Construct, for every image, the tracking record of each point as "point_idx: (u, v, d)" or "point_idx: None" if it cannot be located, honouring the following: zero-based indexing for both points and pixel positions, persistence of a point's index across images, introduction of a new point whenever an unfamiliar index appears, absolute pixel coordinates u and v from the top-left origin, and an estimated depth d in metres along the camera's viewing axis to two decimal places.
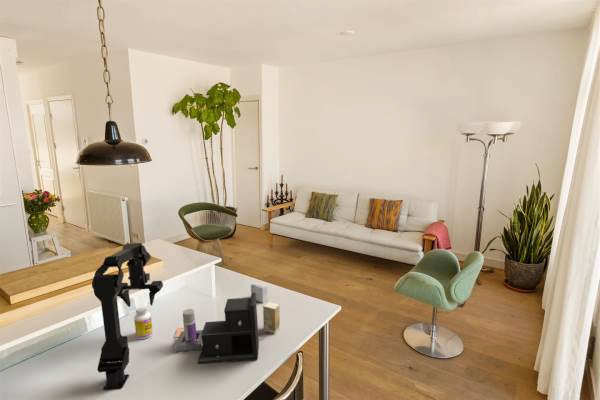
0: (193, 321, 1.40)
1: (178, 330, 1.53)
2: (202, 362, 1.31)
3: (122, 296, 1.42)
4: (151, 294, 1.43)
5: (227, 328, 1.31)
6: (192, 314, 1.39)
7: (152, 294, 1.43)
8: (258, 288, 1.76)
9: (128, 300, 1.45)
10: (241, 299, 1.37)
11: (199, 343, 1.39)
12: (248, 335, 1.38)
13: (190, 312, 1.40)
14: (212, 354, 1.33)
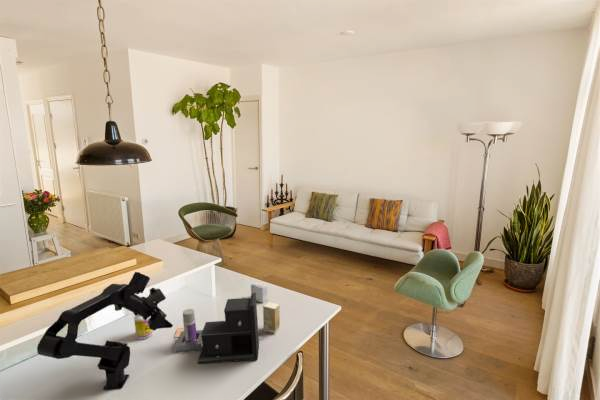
0: (193, 321, 1.40)
1: (178, 330, 1.53)
2: (202, 362, 1.31)
3: None
4: None
5: (227, 328, 1.31)
6: (192, 314, 1.39)
7: None
8: (258, 288, 1.76)
9: None
10: (241, 299, 1.37)
11: (199, 343, 1.39)
12: (248, 335, 1.38)
13: (190, 312, 1.40)
14: (212, 354, 1.33)
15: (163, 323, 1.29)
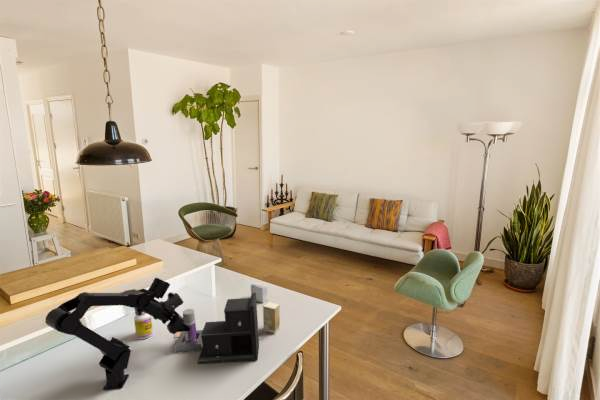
0: (193, 321, 1.40)
1: None
2: (202, 362, 1.31)
3: None
4: None
5: (227, 328, 1.31)
6: (192, 314, 1.39)
7: None
8: (258, 288, 1.76)
9: None
10: (241, 299, 1.36)
11: (199, 343, 1.39)
12: (248, 335, 1.38)
13: (190, 312, 1.40)
14: (212, 354, 1.33)
15: (181, 327, 1.34)
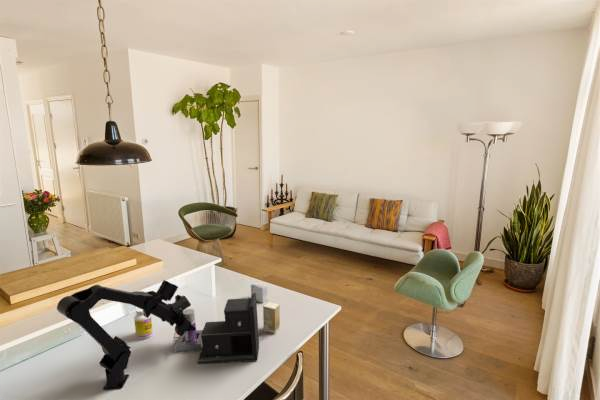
0: (193, 321, 1.40)
1: None
2: (202, 362, 1.31)
3: None
4: None
5: (227, 328, 1.30)
6: (192, 314, 1.39)
7: None
8: (258, 288, 1.76)
9: None
10: (241, 299, 1.36)
11: (199, 343, 1.39)
12: (248, 336, 1.38)
13: (190, 312, 1.40)
14: (212, 354, 1.32)
15: None
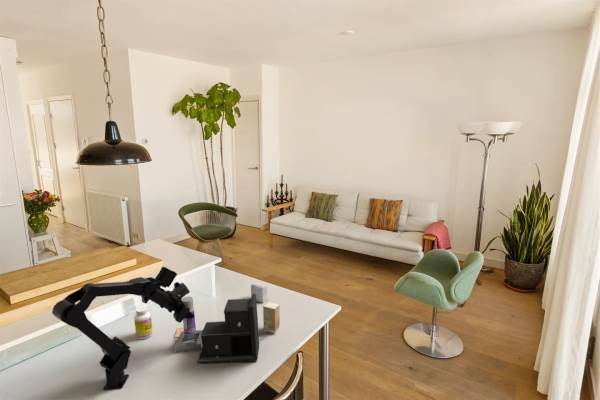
0: (192, 309, 1.39)
1: (178, 330, 1.53)
2: (202, 362, 1.31)
3: None
4: None
5: (227, 329, 1.30)
6: (191, 301, 1.38)
7: None
8: (258, 288, 1.76)
9: None
10: (241, 300, 1.36)
11: (199, 343, 1.39)
12: (248, 336, 1.38)
13: (189, 299, 1.38)
14: (212, 354, 1.32)
15: None
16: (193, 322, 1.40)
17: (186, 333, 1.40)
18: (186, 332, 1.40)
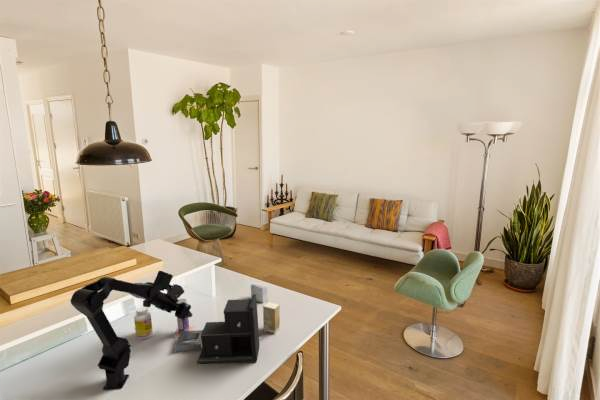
0: None
1: None
2: (201, 362, 1.31)
3: None
4: None
5: (226, 329, 1.30)
6: (186, 302, 1.48)
7: None
8: (258, 288, 1.76)
9: None
10: (241, 300, 1.36)
11: (199, 343, 1.39)
12: (248, 337, 1.37)
13: (183, 301, 1.48)
14: (211, 355, 1.32)
15: None
16: (188, 322, 1.50)
17: None
18: None
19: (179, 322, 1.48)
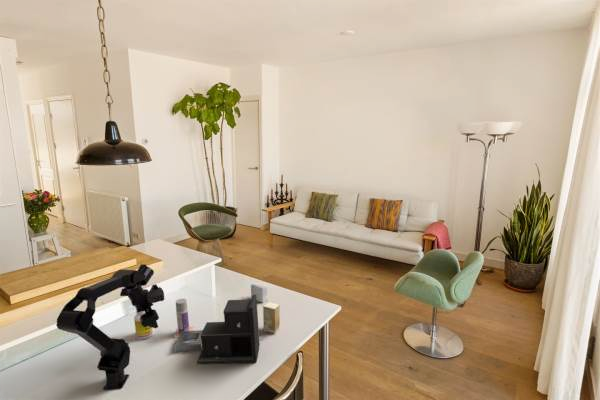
0: (186, 309, 1.49)
1: None
2: (201, 362, 1.31)
3: None
4: None
5: (226, 329, 1.30)
6: (185, 302, 1.48)
7: None
8: (258, 288, 1.76)
9: None
10: (241, 301, 1.35)
11: (199, 343, 1.39)
12: (248, 337, 1.37)
13: (183, 301, 1.48)
14: (211, 355, 1.32)
15: (152, 322, 1.33)
16: (188, 322, 1.50)
17: None
18: None
19: (179, 322, 1.48)
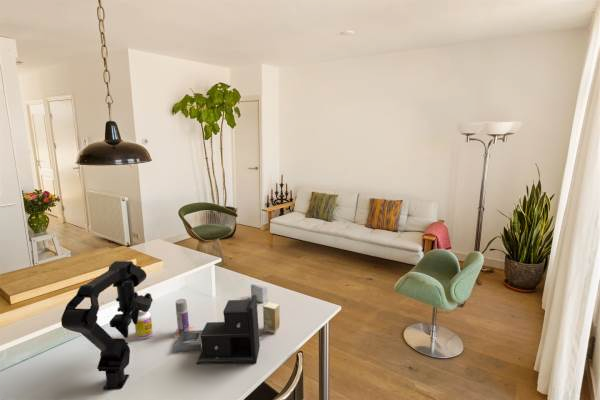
0: (186, 309, 1.49)
1: None
2: (201, 363, 1.31)
3: None
4: None
5: (226, 330, 1.30)
6: (185, 302, 1.48)
7: None
8: (258, 288, 1.76)
9: (133, 316, 1.35)
10: (242, 301, 1.35)
11: (199, 343, 1.39)
12: (248, 337, 1.37)
13: (183, 301, 1.48)
14: (211, 355, 1.32)
15: (123, 328, 1.25)
16: (188, 322, 1.50)
17: None
18: None
19: (179, 322, 1.48)
